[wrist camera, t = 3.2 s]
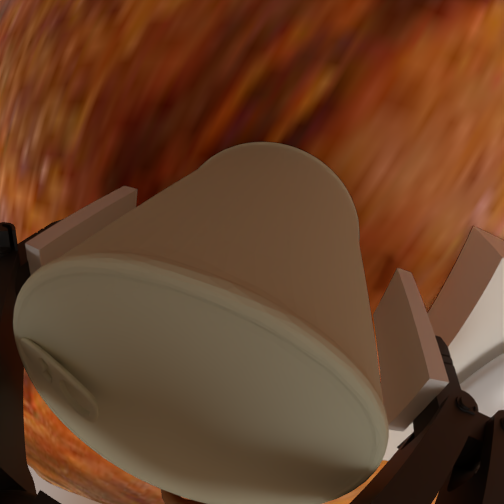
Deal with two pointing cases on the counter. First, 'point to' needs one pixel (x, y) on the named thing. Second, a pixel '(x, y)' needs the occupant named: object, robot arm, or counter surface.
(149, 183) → the counter surface
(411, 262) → the counter surface
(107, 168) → the counter surface
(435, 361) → the robot arm
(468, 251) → the scale
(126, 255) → the can
